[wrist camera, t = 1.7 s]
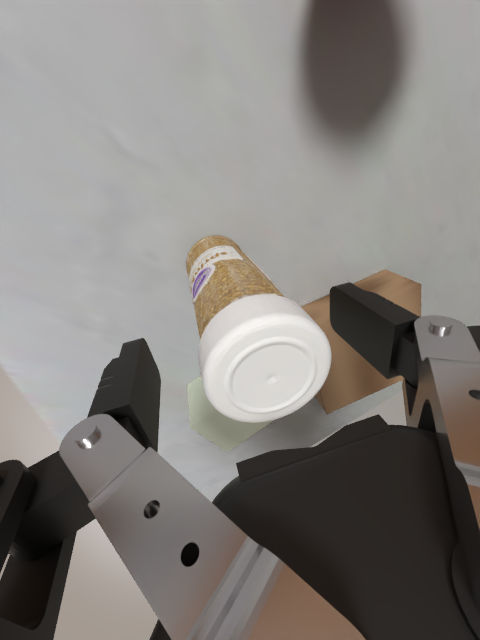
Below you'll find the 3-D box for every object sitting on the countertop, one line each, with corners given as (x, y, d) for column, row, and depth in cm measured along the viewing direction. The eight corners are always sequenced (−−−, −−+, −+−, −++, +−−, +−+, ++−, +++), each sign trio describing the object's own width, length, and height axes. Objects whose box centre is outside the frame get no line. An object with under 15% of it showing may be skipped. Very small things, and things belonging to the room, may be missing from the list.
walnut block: (385, 269, 24) (421, 284, 20) (390, 349, 29) (419, 372, 25) (285, 313, 24) (305, 336, 20) (308, 386, 29) (327, 414, 25)
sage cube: (228, 354, 24) (239, 391, 20) (256, 383, 27) (272, 421, 23) (187, 384, 25) (190, 427, 21) (218, 409, 27) (227, 452, 23)
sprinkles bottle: (193, 226, 18) (227, 302, 7) (252, 244, 20) (360, 331, 8) (179, 285, 20) (187, 426, 9) (234, 297, 22) (303, 431, 10)
